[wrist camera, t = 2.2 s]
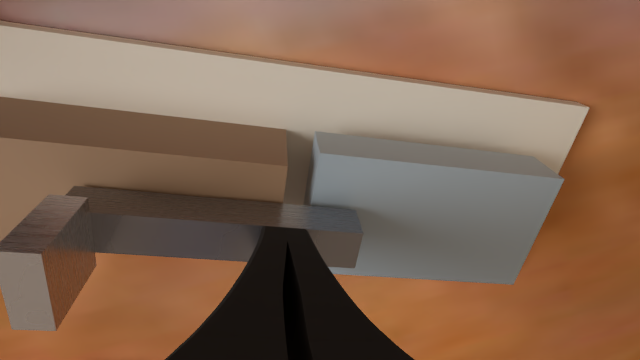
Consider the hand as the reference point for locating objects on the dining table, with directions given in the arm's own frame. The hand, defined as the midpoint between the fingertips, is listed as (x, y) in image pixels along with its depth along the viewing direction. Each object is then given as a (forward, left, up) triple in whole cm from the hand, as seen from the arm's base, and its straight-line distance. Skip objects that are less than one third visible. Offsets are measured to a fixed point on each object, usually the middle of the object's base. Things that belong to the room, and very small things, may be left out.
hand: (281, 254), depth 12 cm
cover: (0, -6, -4) cm, 7 cm away
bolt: (0, +2, -2) cm, 3 cm away
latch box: (0, -1, -6) cm, 6 cm away
